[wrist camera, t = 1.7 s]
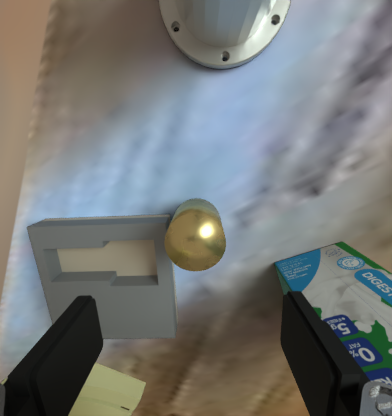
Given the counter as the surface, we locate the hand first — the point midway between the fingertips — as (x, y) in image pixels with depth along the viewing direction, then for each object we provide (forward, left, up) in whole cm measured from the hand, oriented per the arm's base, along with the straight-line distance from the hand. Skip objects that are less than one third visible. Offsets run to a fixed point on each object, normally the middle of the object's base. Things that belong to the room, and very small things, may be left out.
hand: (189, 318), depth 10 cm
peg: (0, 0, -17) cm, 17 cm away
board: (+8, -11, -17) cm, 22 cm away
